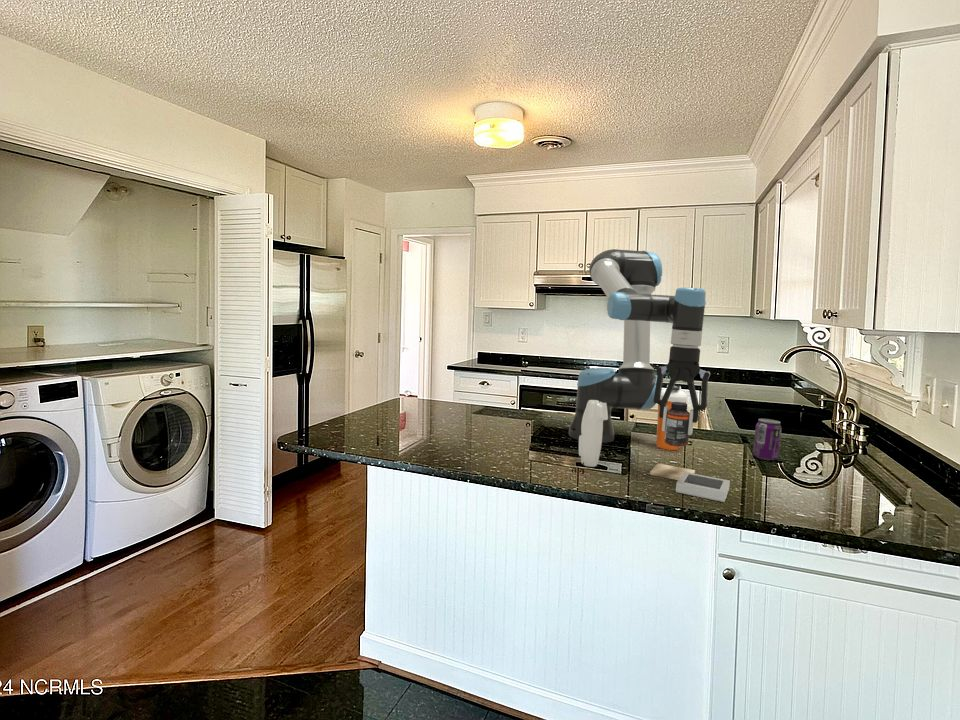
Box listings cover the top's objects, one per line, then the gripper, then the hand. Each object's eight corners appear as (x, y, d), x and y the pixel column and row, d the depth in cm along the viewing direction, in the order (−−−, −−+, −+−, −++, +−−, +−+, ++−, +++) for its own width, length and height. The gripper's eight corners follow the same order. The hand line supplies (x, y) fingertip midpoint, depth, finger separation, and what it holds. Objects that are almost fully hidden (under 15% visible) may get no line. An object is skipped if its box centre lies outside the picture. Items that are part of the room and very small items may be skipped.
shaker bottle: (653, 448, 177) (659, 386, 175) (652, 442, 186) (658, 383, 184) (683, 452, 175) (689, 389, 173) (680, 445, 184) (686, 385, 182)
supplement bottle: (677, 441, 154) (681, 400, 153) (692, 446, 148) (696, 405, 147) (659, 441, 152) (663, 401, 151) (674, 447, 146) (678, 405, 145)
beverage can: (780, 462, 170) (785, 424, 169) (756, 460, 171) (760, 421, 170) (773, 456, 177) (778, 419, 176) (749, 454, 178) (753, 417, 177)
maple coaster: (649, 474, 149) (650, 471, 149) (657, 466, 158) (657, 463, 158) (689, 482, 144) (689, 479, 144) (694, 473, 153) (695, 470, 153)
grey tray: (675, 492, 136) (676, 482, 136) (683, 480, 146) (684, 471, 145) (724, 502, 131) (725, 492, 130) (729, 489, 140) (730, 480, 140)
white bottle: (607, 468, 153) (592, 460, 160) (613, 403, 151) (597, 398, 158) (586, 469, 151) (572, 461, 157) (592, 403, 149) (577, 398, 155)
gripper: (645, 343, 149) (638, 428, 151) (722, 350, 140) (713, 440, 142) (652, 342, 155) (644, 424, 158) (725, 349, 146) (716, 435, 148)
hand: (677, 432), depth 150 cm, fingers closed on supplement bottle, 6 cm apart
